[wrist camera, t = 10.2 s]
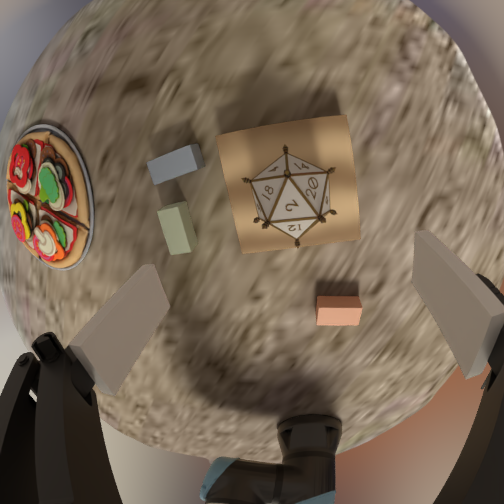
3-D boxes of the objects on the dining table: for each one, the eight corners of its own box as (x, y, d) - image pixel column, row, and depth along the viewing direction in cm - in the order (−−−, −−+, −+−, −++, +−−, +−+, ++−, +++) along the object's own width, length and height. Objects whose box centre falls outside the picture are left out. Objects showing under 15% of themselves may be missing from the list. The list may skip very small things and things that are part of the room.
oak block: (355, 230, 32) (360, 239, 30) (246, 244, 35) (242, 254, 32) (341, 116, 27) (346, 114, 24) (222, 135, 30) (215, 135, 27)
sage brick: (198, 242, 36) (191, 252, 34) (179, 245, 37) (170, 255, 34) (186, 200, 34) (177, 206, 31) (166, 204, 35) (156, 211, 32)
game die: (283, 167, 31) (269, 113, 22) (348, 200, 29) (360, 151, 19) (242, 230, 30) (210, 193, 21) (308, 269, 28) (306, 247, 18)
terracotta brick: (358, 295, 36) (362, 307, 34) (354, 312, 38) (358, 325, 35) (317, 295, 37) (318, 307, 34) (315, 312, 38) (316, 325, 36)
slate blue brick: (198, 143, 31) (189, 144, 28) (205, 166, 32) (197, 169, 29) (157, 159, 32) (146, 162, 29) (164, 180, 33) (154, 185, 31)
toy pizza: (18, 113, 31) (2, 116, 27) (112, 143, 32) (93, 147, 28) (11, 234, 43) (-2, 242, 39) (91, 291, 44) (78, 303, 40)
